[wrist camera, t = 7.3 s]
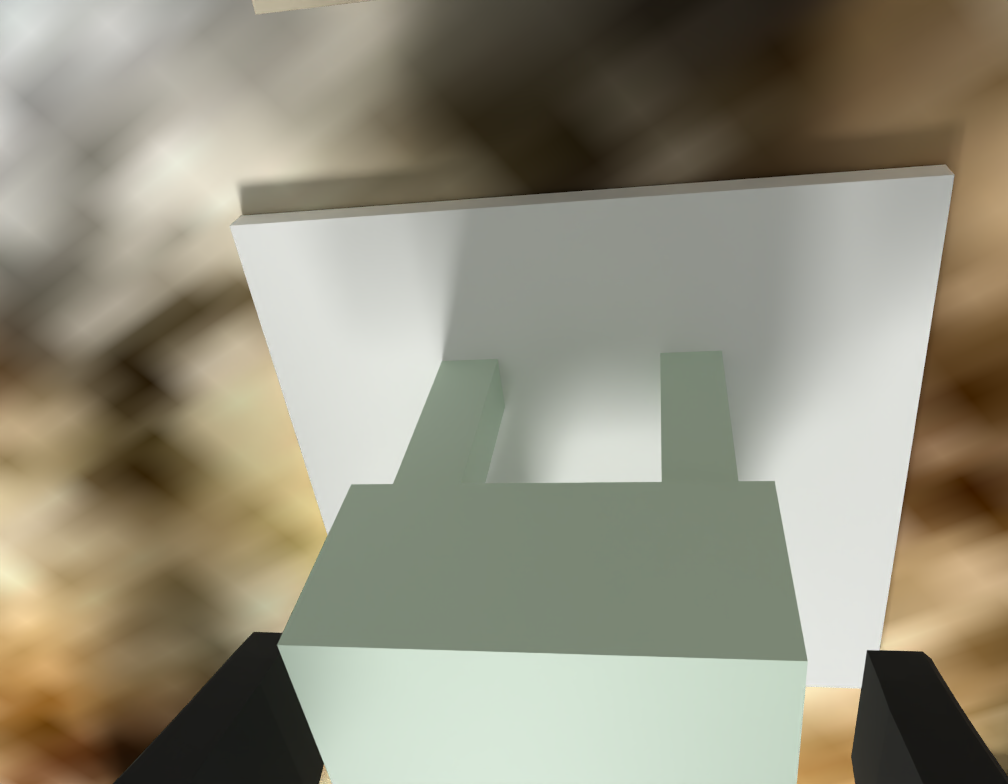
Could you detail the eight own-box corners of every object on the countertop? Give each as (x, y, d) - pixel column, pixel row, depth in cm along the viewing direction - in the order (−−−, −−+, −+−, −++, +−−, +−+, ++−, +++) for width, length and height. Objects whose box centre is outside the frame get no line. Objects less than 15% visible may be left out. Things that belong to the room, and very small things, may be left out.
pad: (945, 164, 11) (954, 175, 11) (868, 671, 16) (872, 688, 16) (240, 215, 13) (230, 225, 13) (375, 655, 18) (370, 670, 18)
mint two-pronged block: (746, 328, 12) (807, 661, 7) (740, 576, 15) (782, 943, 10) (416, 342, 13) (277, 644, 8) (465, 573, 16) (380, 906, 11)
